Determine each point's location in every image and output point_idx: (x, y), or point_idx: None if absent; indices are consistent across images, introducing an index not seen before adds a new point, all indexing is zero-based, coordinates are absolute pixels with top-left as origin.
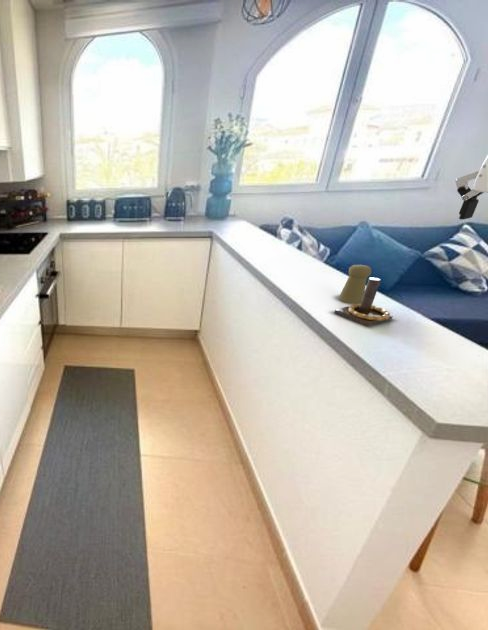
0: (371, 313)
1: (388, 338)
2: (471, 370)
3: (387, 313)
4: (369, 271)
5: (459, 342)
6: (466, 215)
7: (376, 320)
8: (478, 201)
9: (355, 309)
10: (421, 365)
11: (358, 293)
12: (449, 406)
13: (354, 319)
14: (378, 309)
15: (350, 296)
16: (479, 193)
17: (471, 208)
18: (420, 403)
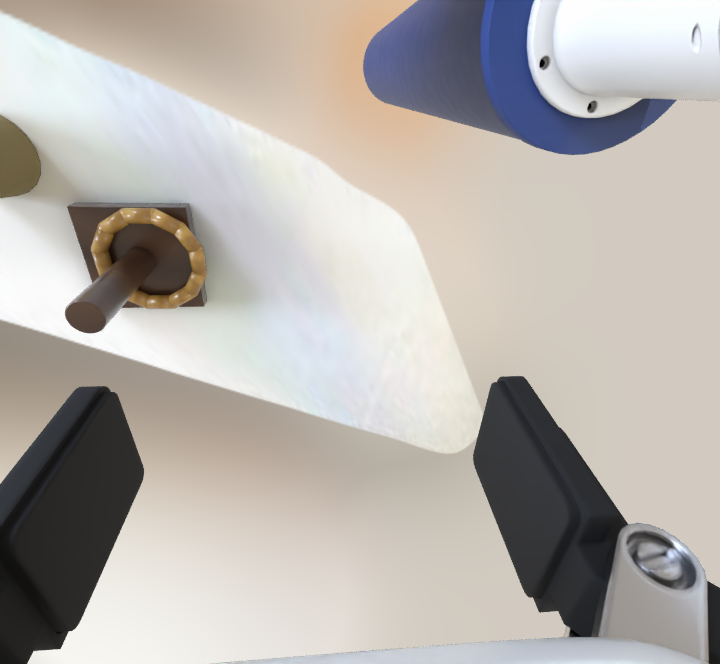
0: (152, 246)
1: (274, 315)
2: (427, 305)
3: (185, 241)
4: None
5: (354, 190)
6: (127, 479)
7: None
8: (17, 527)
9: (112, 258)
10: (375, 361)
11: (7, 180)
12: (453, 425)
13: None
14: (144, 223)
15: (8, 195)
16: None
17: (88, 510)
18: (430, 447)
